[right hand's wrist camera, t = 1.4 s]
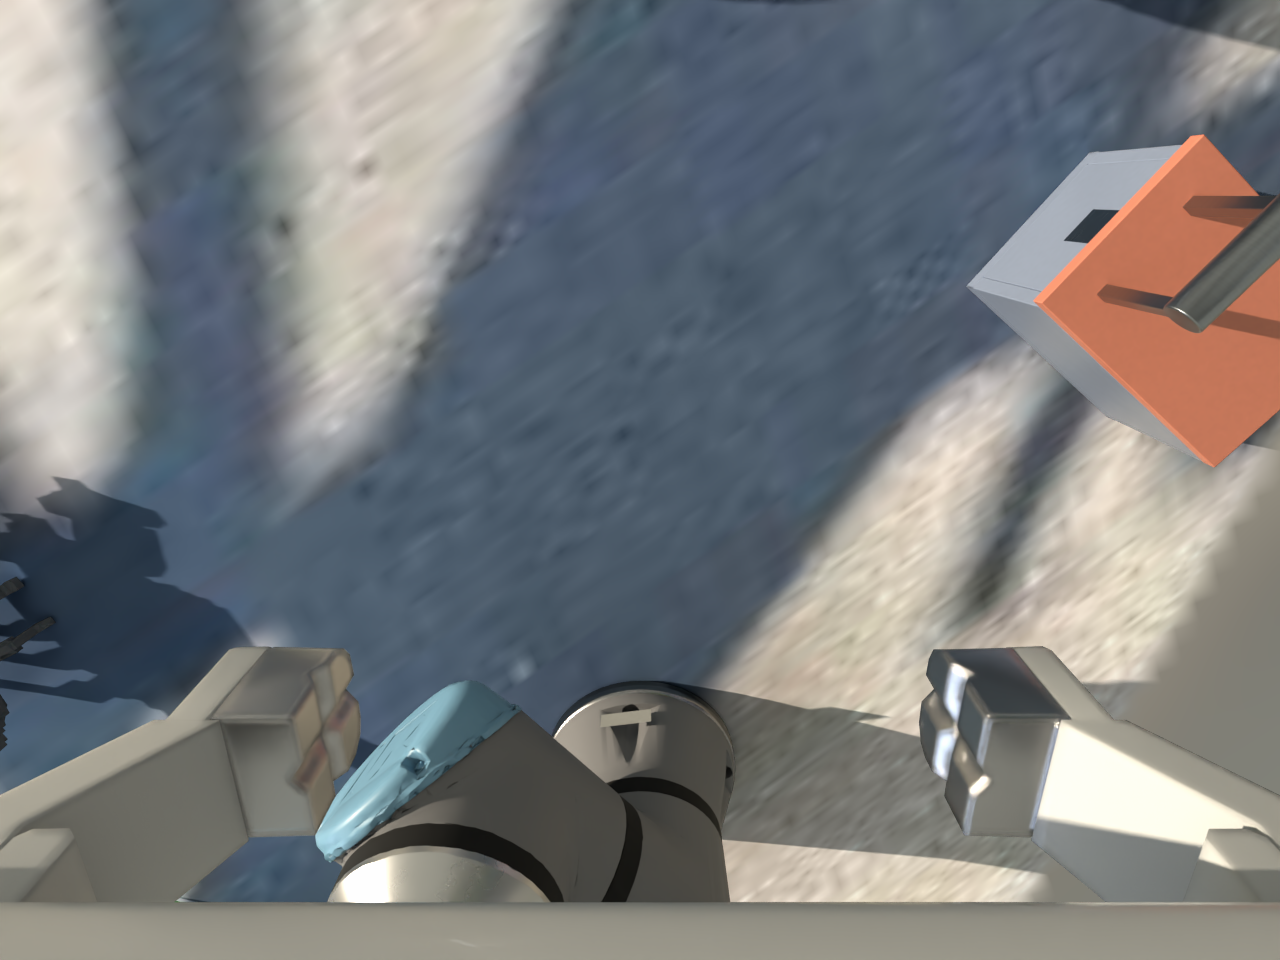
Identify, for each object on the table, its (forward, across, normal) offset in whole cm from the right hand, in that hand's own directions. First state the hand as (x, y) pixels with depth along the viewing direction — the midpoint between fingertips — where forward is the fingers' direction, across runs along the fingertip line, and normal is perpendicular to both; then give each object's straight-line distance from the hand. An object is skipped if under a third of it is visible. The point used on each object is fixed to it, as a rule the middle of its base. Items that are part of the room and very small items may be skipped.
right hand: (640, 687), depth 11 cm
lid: (+32, -30, -1) cm, 43 cm away
